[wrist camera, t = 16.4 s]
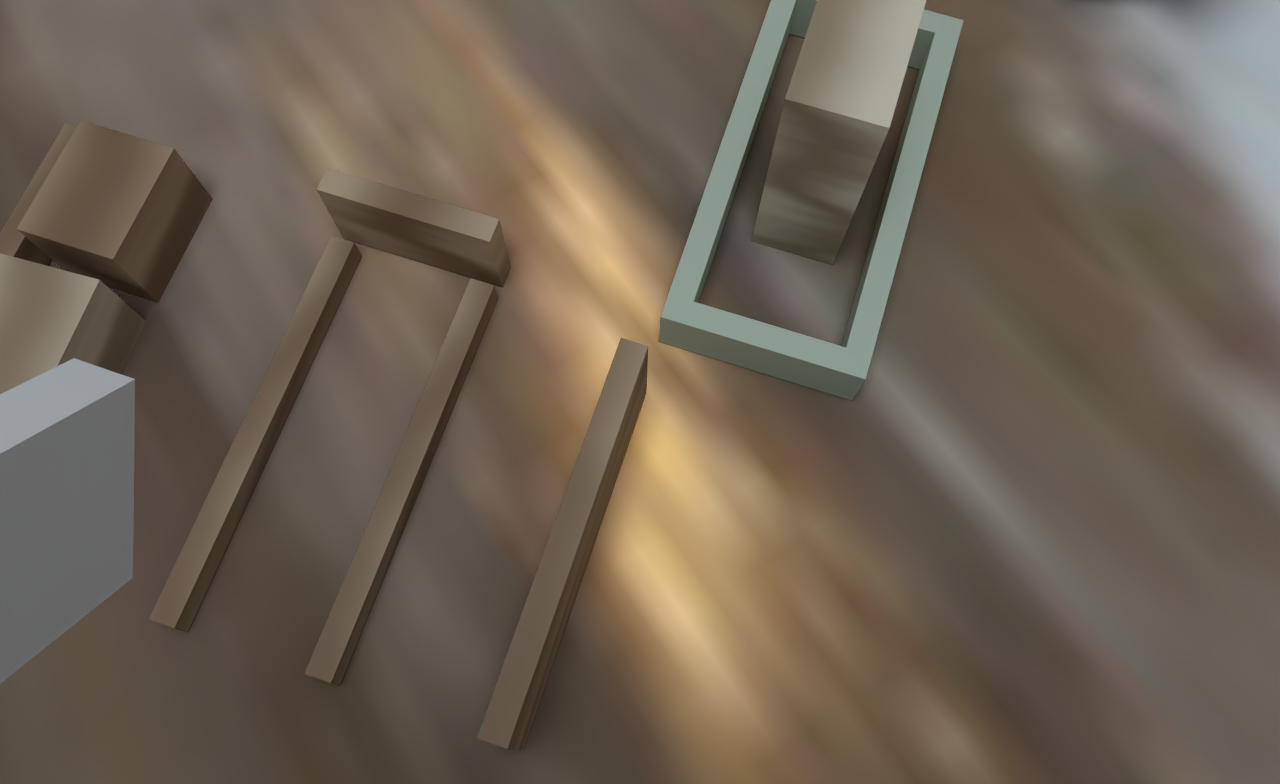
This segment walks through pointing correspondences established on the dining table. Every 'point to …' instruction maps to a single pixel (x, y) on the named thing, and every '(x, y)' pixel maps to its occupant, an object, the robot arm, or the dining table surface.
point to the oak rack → (464, 250)
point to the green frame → (850, 361)
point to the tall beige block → (834, 122)
